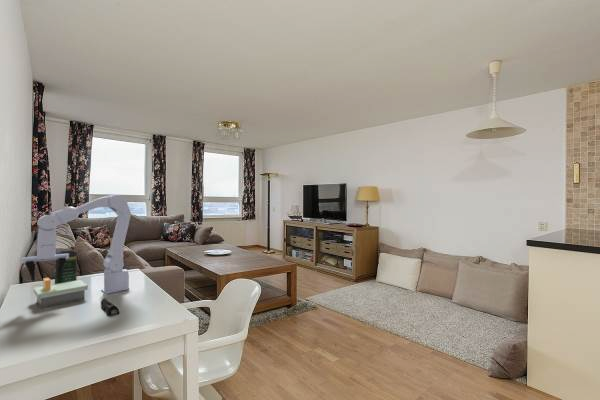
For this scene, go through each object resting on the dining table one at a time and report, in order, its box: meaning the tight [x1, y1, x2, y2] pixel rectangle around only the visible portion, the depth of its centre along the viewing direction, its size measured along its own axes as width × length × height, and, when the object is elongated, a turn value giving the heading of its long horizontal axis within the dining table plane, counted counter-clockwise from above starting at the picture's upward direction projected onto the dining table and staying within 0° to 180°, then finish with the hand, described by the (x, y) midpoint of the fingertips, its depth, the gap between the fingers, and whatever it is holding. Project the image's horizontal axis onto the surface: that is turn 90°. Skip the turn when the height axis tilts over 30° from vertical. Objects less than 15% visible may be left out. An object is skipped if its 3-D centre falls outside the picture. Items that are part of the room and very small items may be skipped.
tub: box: [36, 290, 85, 309], centre depth 124 cm, size 14×10×5 cm
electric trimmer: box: [100, 298, 120, 317], centre depth 115 cm, size 4×16×3 cm, turn 45°
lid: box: [33, 277, 88, 299], centre depth 124 cm, size 16×12×6 cm
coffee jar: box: [54, 247, 78, 284], centre depth 140 cm, size 10×8×19 cm
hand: (45, 278), depth 120 cm, fingers open, 7 cm apart
